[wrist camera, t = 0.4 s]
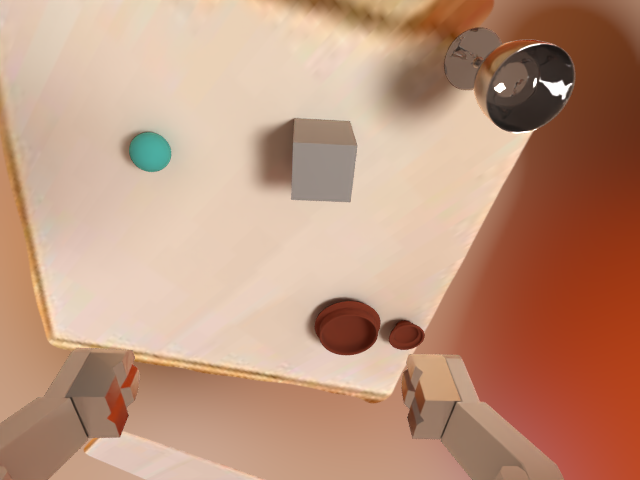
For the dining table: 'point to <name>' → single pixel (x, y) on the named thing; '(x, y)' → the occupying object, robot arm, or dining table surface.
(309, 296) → the dining table surface
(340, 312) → the pottery
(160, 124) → the dining table surface
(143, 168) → the ball
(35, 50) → the dining table surface
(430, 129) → the dining table surface
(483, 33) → the wine glass
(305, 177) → the grey matte cube
